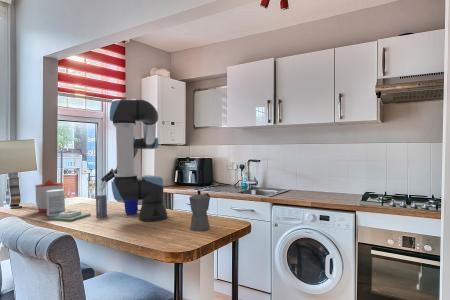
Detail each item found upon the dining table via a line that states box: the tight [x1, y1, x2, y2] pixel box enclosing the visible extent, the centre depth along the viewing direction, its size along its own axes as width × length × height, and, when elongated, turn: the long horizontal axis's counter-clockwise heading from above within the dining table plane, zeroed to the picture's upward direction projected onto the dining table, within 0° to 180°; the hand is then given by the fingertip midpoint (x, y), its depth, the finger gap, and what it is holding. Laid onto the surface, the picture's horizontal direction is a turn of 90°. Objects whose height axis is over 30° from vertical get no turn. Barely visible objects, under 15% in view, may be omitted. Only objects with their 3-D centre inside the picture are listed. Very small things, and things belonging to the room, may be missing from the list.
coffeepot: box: [188, 189, 211, 233], centre depth 142 cm, size 15×9×18 cm, turn 151°
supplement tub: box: [46, 188, 66, 217], centre depth 180 cm, size 10×10×15 cm
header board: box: [48, 210, 92, 222], centre depth 171 cm, size 16×14×3 cm
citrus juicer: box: [34, 179, 64, 214], centre depth 193 cm, size 16×17×20 cm
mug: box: [123, 200, 141, 215], centre depth 178 cm, size 8×12×10 cm
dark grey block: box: [95, 194, 108, 218], centre depth 174 cm, size 4×4×12 cm
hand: (110, 190), depth 182 cm, fingers open, 13 cm apart
